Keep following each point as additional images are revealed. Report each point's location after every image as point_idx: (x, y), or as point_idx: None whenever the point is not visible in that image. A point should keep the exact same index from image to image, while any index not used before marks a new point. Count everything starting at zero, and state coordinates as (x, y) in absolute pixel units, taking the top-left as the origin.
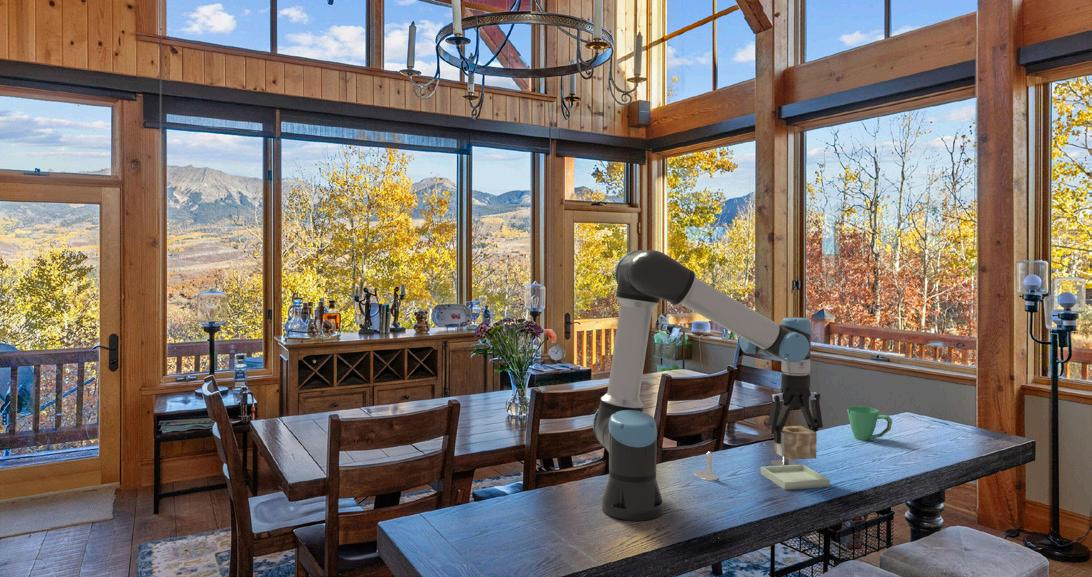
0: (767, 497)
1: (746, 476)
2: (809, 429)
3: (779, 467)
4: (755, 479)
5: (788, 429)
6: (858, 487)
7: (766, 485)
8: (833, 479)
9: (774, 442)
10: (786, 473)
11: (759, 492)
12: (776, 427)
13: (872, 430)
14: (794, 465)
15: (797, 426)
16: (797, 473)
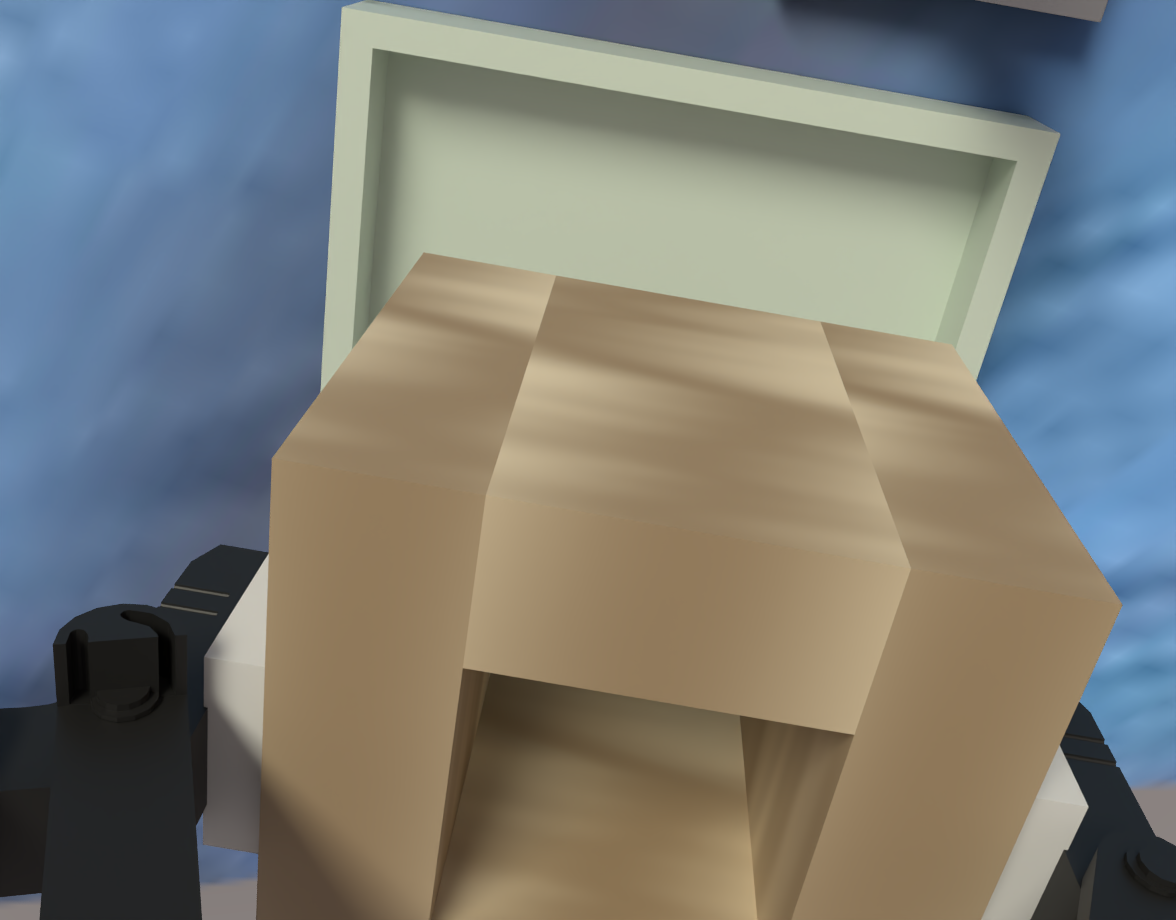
0: (47, 654)
1: (116, 24)
2: (1055, 867)
3: (639, 92)
4: (181, 174)
5: (573, 669)
6: (1117, 752)
7: (208, 394)
8: (1110, 500)
9: (385, 304)
10: (671, 197)
11: (28, 532)
12: (15, 889)
13: None
14: (900, 129)
15: (958, 641)
16: (815, 249)
